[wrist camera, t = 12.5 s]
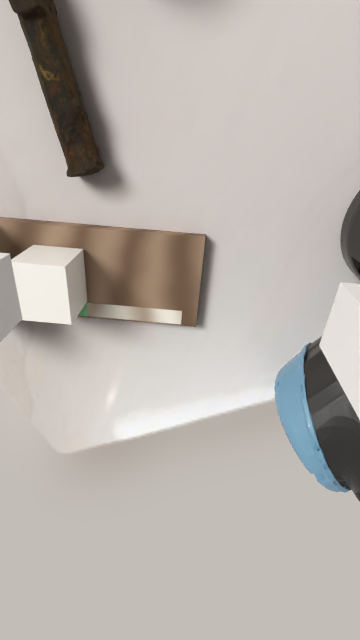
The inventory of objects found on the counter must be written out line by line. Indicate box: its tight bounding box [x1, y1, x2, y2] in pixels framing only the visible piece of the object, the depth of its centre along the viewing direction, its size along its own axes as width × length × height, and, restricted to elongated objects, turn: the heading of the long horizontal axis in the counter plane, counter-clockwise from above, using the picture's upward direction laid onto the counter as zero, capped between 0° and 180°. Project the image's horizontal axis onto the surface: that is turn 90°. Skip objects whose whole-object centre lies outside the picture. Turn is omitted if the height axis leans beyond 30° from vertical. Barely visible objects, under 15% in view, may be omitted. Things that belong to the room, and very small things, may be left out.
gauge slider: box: [11, 245, 87, 325], centre depth 39 cm, size 9×10×6 cm
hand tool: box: [9, 0, 105, 177], centre depth 31 cm, size 19×4×5 cm, turn 9°
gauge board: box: [0, 217, 205, 327], centre depth 39 cm, size 30×12×10 cm, turn 86°
